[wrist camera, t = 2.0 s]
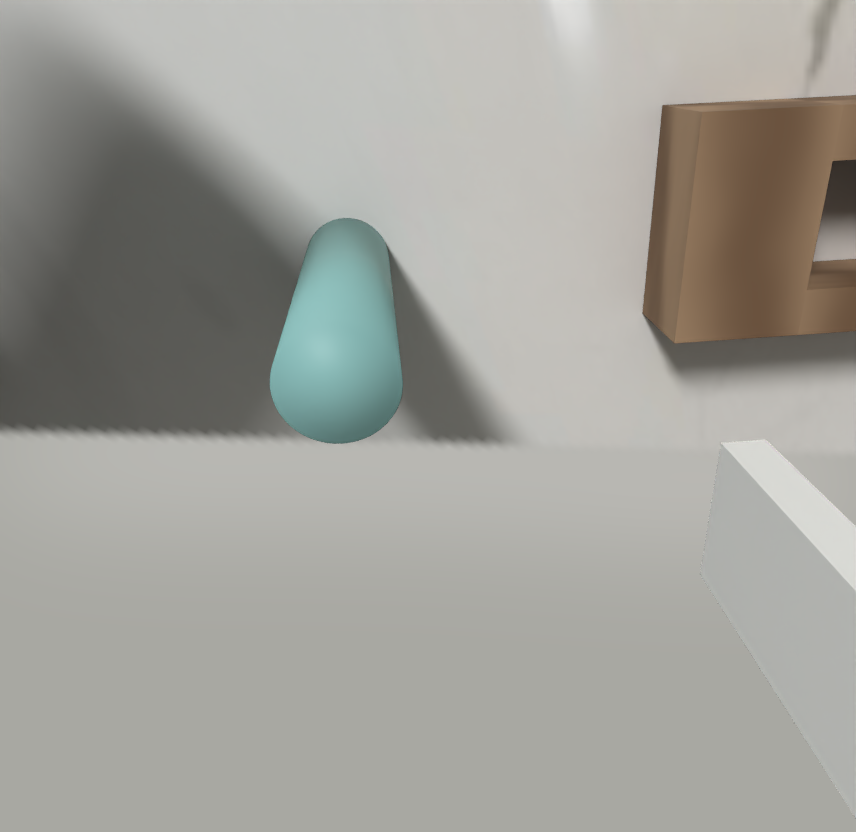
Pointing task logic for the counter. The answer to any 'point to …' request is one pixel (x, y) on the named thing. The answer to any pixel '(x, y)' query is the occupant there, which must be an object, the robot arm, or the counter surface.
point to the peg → (340, 339)
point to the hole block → (748, 220)
